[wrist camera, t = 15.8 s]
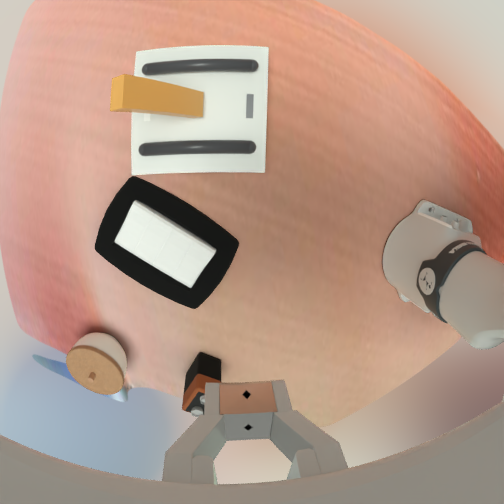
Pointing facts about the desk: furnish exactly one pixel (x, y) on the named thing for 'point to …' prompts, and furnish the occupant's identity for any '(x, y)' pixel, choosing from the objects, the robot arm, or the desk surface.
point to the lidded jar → (98, 363)
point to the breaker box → (205, 111)
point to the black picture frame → (165, 243)
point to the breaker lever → (154, 97)
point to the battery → (200, 382)
